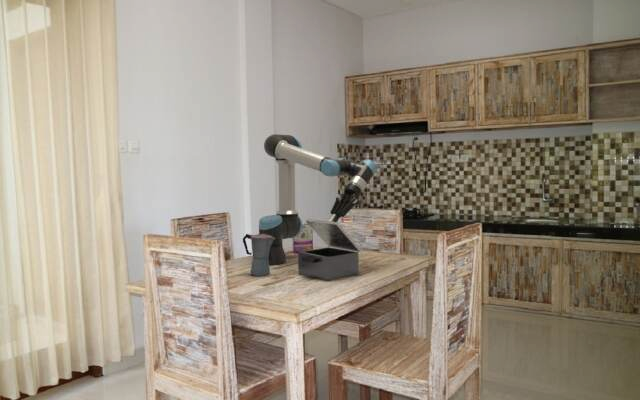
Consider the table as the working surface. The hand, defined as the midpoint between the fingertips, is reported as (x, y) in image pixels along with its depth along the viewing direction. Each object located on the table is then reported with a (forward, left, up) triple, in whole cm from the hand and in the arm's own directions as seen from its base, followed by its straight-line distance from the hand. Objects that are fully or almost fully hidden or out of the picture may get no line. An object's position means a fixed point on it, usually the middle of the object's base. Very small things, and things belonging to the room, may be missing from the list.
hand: (328, 227), depth 217 cm
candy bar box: (-55, +27, -21) cm, 65 cm away
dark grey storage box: (0, -2, -21) cm, 21 cm away
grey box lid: (0, +2, -4) cm, 5 cm away
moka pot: (-22, -23, -21) cm, 38 cm away
